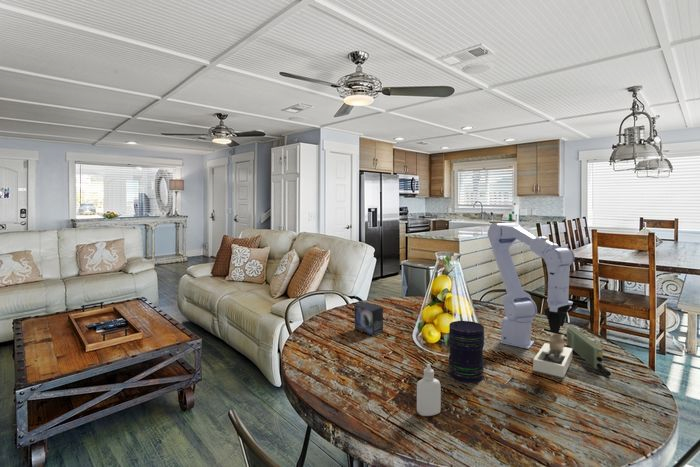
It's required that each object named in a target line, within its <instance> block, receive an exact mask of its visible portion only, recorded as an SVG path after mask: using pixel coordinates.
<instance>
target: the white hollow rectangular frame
mask: <svg viewBox="0 0 700 467" xmlns="http://www.w3.org/2000/svg"><path fill="white" fill-rule="evenodd" d="M573 351H574V350H573V348H571V347H569V346H564V349H563V350H562V351H560V354H559V356H560V357H565V358H564V360H563V362H562V363H558V362H553V361H551V360H549V354H551V353H554V349H550V343H547V342H544V344H543V345H542V346H541V348H540V350H539V351H538V352H537V354H536V355H535V356H534V358H533V359H532V360H533V362H532V371H533V372H535V373H539V374H543V375H547V376H550V377H554V378H559V379H563V380H565V377H566V374H567V372H568V369H569V368H570V365H571V364H572V362H573V354H574V353H573Z"/></svg>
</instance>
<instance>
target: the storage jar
mask: <svg viewBox="0 0 700 467" xmlns="http://www.w3.org/2000/svg"><path fill="white" fill-rule="evenodd" d="M484 331H485V326H484V325H482V324H480V323H478V322H475V321H470V320H455V321H452V322H450V323H449V331H448V343H449V355H448V375H450V376H449V377H450V378H451V379H452V378H453V379H452V380H453V381H457V382H459V383H462V384H470V383H472V384H478V383H481V382H482V381H483V380H484V370H485V365H484V364H485V361H484V360H485V359H484V355H483V354H484V347H485V332H484ZM480 381H481V382H480Z"/></svg>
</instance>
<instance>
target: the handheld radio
mask: <svg viewBox="0 0 700 467" xmlns="http://www.w3.org/2000/svg"><path fill="white" fill-rule="evenodd" d="M566 345H567V347H569V346H570V347H569V348H573V351H574V352H575V353H576V354H577V355H578V356H580V357H581V358H582V359H583V360H584V359H585V360H584V361H586V363H588V365H590V366H591V367H592V368H593V369H595V370H597V369H599V370H600V371H601V372H603V373H604V374H605V375H606V376H607V377H609V376H611V375H612V373H611V371H610V370H609V369H607V368H606V367H605V366H603V358H604V357H603V355H604V354H603V348H602V347H601V346H599V345H598V343H595V342H594V341H593V340H591V339H590V338H589V337H588V336H586V335H584V334H583V333H582V332H581V331H580V330H578V329H576V327H573V326H567V329H566Z"/></svg>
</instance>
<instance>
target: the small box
mask: <svg viewBox="0 0 700 467" xmlns="http://www.w3.org/2000/svg"><path fill="white" fill-rule="evenodd" d="M353 307H354V309H353V310H354V312H353V314H354V330H355V329H356V330H355V331H357V330H359V331H358V332H360V331H362V332H365V333H367V334H366V335H368V334H370V335H375V336H377V335H376V334H378V333H381V332H383V333H384V307H383V306H381V305H377V304H374V303H370V302H368V301H367V302H366V301H363V302H359V303H357V304H354V305H353ZM362 332H361V333H362ZM365 333H364V334H365ZM381 334H382V333H381ZM370 335H369V336H370ZM378 335H379V334H378Z"/></svg>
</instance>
